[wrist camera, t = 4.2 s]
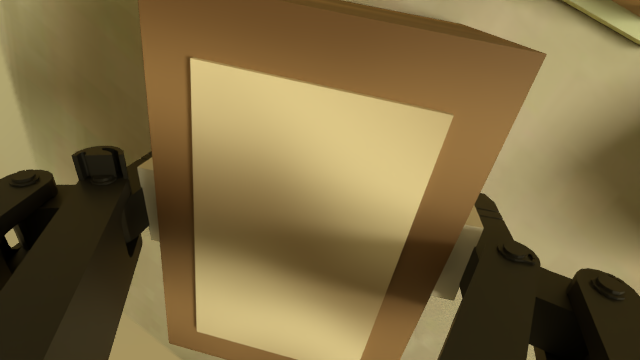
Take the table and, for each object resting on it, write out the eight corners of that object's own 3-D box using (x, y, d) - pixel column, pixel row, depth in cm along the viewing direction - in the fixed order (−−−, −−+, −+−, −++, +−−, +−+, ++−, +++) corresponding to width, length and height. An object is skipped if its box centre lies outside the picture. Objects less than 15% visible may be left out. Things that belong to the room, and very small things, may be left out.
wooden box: (382, 254, 19) (378, 407, 12) (246, 220, 20) (166, 346, 12) (462, 24, 13) (550, 55, 6) (264, -15, 14) (130, -29, 7)
